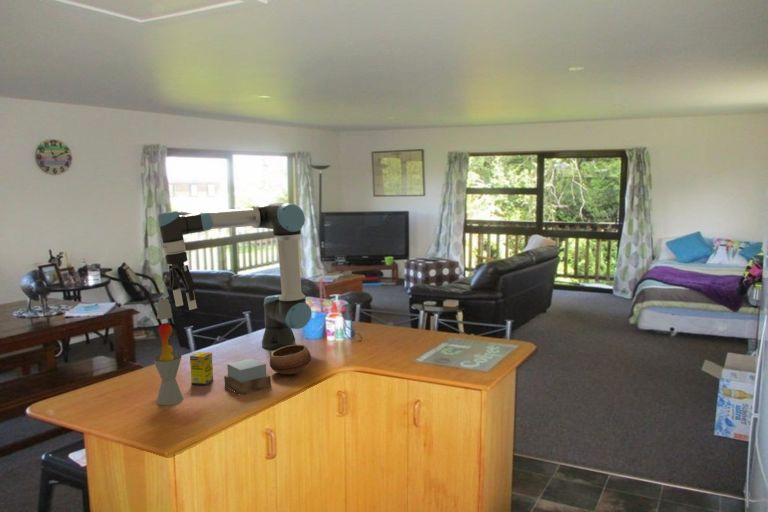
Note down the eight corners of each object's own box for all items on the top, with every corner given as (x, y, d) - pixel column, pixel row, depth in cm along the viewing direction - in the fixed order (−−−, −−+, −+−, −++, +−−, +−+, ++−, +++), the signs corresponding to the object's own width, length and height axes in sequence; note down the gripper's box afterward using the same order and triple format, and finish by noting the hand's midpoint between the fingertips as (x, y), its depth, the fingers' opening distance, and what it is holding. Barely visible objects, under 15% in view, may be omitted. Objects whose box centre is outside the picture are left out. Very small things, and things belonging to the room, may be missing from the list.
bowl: (266, 370, 231) (265, 345, 230) (305, 364, 238) (304, 340, 236) (275, 381, 217) (274, 355, 216) (316, 375, 223) (315, 350, 222)
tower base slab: (254, 380, 221) (254, 368, 220) (271, 388, 212) (270, 376, 211) (224, 387, 213) (224, 375, 212) (240, 396, 204) (240, 383, 203)
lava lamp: (183, 403, 197) (177, 300, 193) (154, 406, 194) (147, 302, 190) (184, 394, 205) (178, 295, 201) (157, 397, 203) (150, 297, 199)
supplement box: (206, 385, 214) (204, 356, 213) (191, 385, 215) (189, 356, 214) (213, 380, 220) (212, 352, 219) (199, 379, 221) (197, 351, 220)
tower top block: (252, 369, 218) (252, 358, 218) (266, 376, 211) (265, 364, 210) (227, 376, 212) (227, 363, 211) (241, 382, 204) (240, 370, 204)
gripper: (154, 254, 228) (165, 307, 231) (177, 255, 209) (189, 312, 212) (173, 250, 232) (183, 302, 235) (198, 251, 213) (208, 307, 216)
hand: (186, 307), depth 223 cm, fingers open, 13 cm apart
